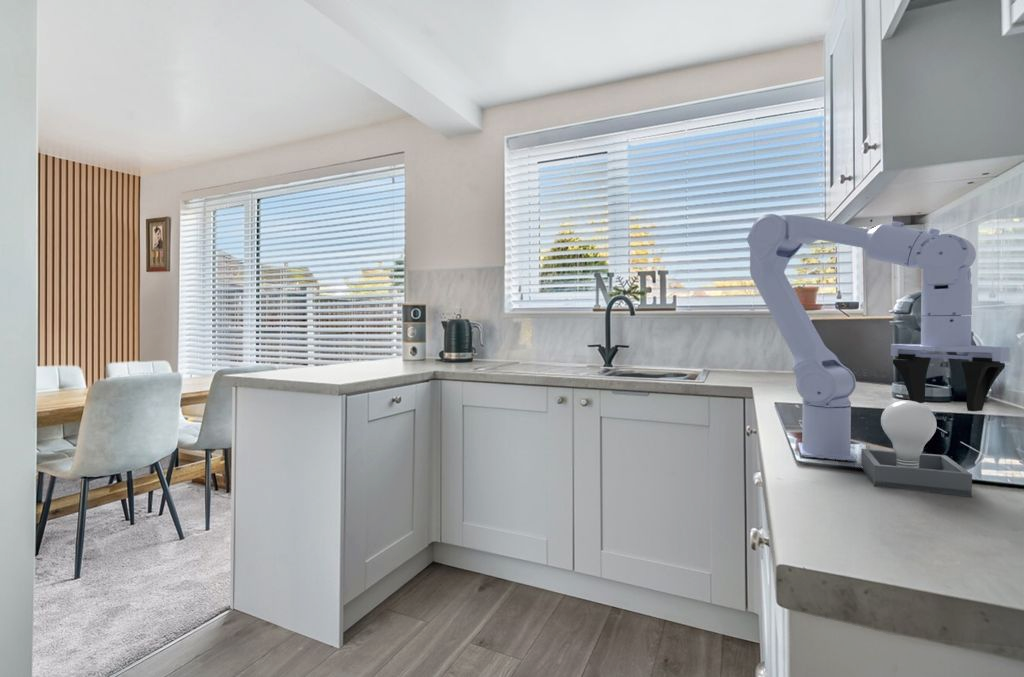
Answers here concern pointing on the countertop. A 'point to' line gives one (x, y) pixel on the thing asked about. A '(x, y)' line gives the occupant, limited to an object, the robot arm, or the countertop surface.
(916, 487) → the tray
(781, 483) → the countertop surface
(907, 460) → the lightbulb
